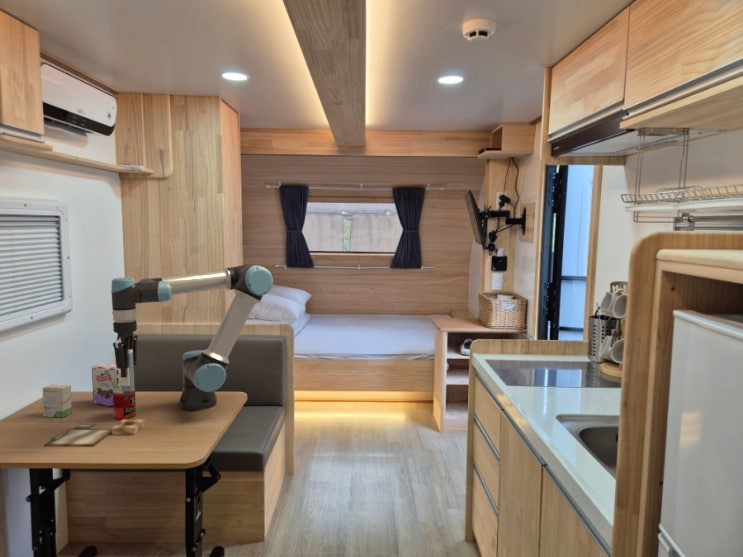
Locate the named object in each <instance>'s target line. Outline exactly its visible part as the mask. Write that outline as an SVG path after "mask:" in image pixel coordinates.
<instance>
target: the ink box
mask: <svg viewBox="0 0 743 557" xmlns="http://www.w3.org/2000/svg"><path fill="white" fill-rule="evenodd" d="M42 409H43V410H42V416H44V417H45V418H59V417H61V418H64V417H66V416H67V417H68V416H69V415H71V414H72V385H71V384H69V385H68V384H54V383H52V384H49V385H46V386H43V387H42ZM46 416H47V417H46ZM44 417H43V418H44Z"/></svg>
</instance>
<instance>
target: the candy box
mask: <svg viewBox="0 0 743 557" xmlns="http://www.w3.org/2000/svg"><path fill="white" fill-rule="evenodd" d="M91 379H92V380H91V382H92V403H93V404H94V405H100V406H104V407H105V406H106V407H111V408H112V407H113V390H114V389H116V388H120V387H121V369H118V368H117V366H116V364H112V363H104V362H101V363H97V364H96V365H92V366H91Z"/></svg>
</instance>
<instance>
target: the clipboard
mask: <svg viewBox="0 0 743 557" xmlns="http://www.w3.org/2000/svg"><path fill="white" fill-rule="evenodd" d="M109 435H112V429H104V428H103V429H102V428H101V429H100V428H99V429H97V428H96V429H94V428H93V429H92V428H90V429H73V428H72V429H71V428H68V429H66V430H62V431H60V432H58V433H57V434H55V435H53V437H51V439H50V440H49V441H47V442H46V443H44V444H43V447H95V446H97V445H98V444H99V443H100V442H102V441H103V440H104V439H105V438H107V437H109Z"/></svg>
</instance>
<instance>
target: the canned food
mask: <svg viewBox="0 0 743 557" xmlns="http://www.w3.org/2000/svg"><path fill="white" fill-rule="evenodd" d="M136 406H137V405H136V388H135V387H134V390H133V394H131V395H123V391H122V389H121V387H120V388H116V389H114V390H113V417H114V419H115V420H118V421H122V420H123V419H134V417H135V416H136V413H137V411H136V410H137V408H136Z"/></svg>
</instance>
